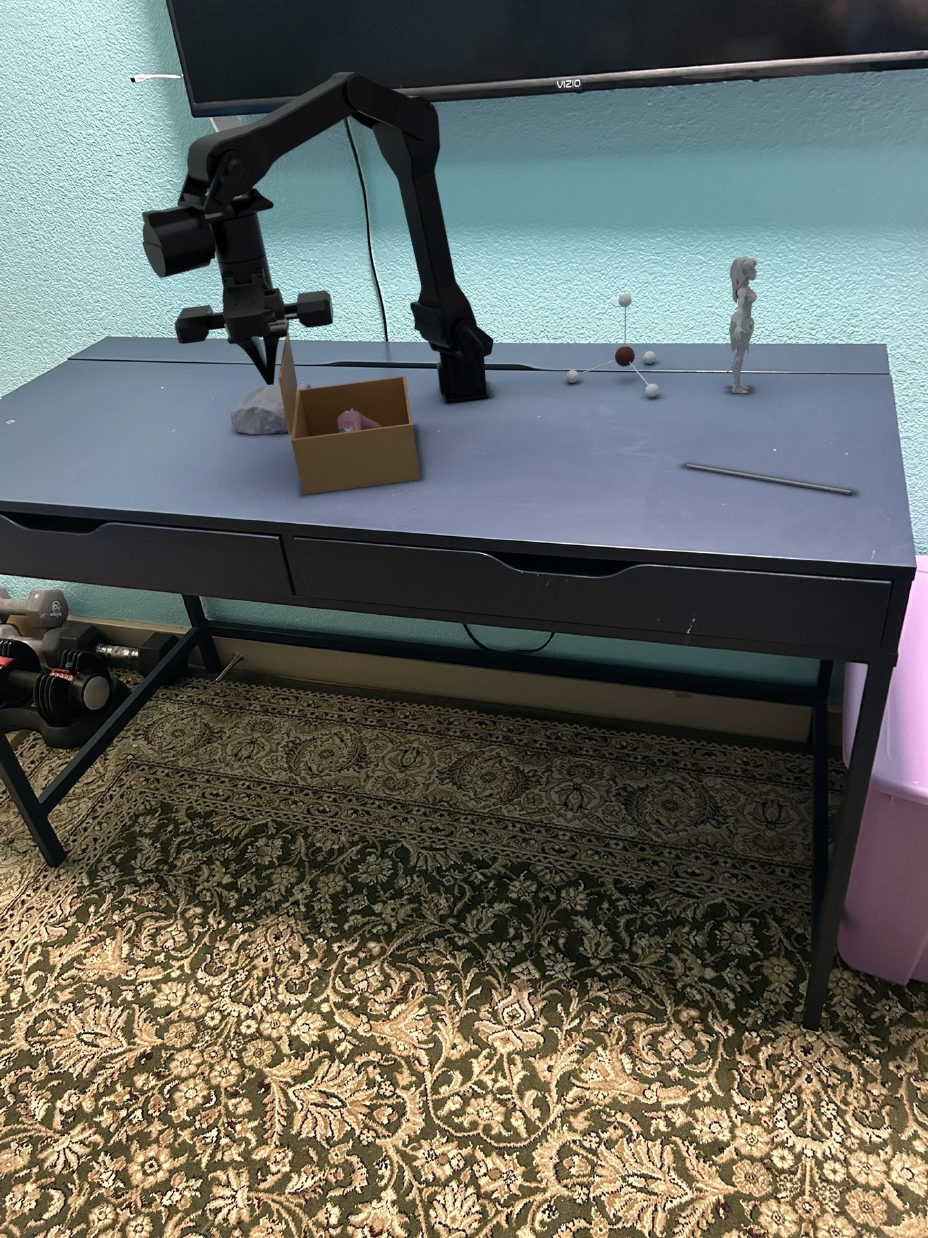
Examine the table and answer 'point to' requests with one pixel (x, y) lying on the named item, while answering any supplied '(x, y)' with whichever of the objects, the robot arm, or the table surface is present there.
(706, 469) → the rod
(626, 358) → the molecular model
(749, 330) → the human figurine
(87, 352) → the table surface
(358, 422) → the video game controller
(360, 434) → the carton
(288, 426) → the flap
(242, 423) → the stone block
